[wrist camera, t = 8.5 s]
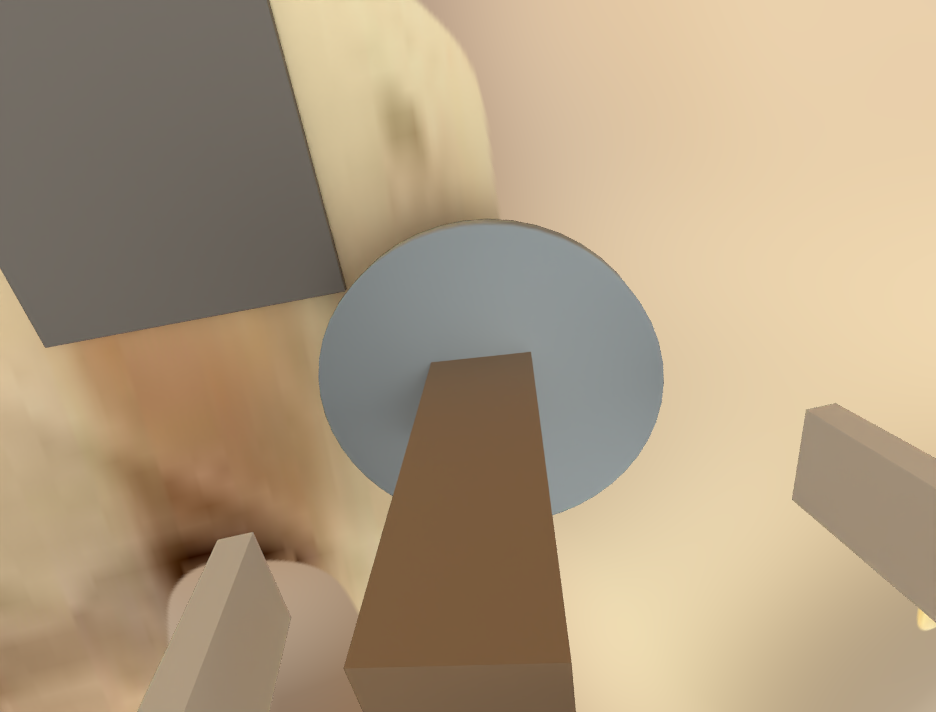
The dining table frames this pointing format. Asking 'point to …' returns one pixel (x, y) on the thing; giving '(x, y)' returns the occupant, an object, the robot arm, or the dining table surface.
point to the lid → (481, 452)
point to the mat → (153, 166)
